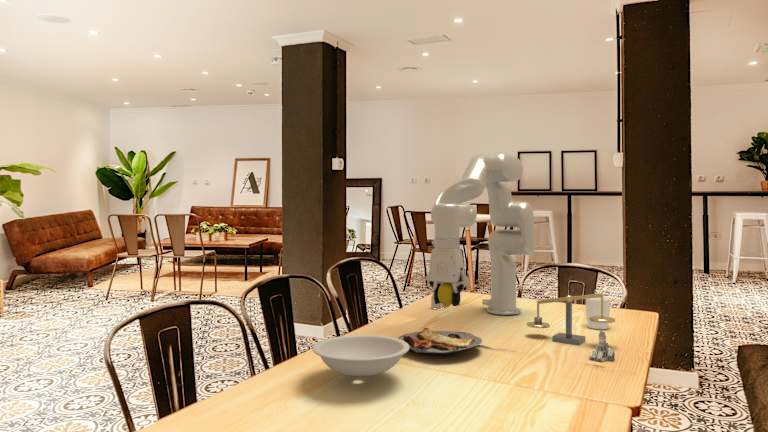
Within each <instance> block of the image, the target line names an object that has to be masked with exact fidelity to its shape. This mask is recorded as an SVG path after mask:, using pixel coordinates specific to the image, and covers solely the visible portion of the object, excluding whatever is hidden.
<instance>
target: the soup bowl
mask: <svg viewBox="0 0 768 432" xmlns="http://www.w3.org/2000/svg"><path fill="white" fill-rule="evenodd" d="M409 350H410V347H409V344H408V343H406V342H405V341H403V340H400V339H398V338H397V337H392V336H387V335H377V334H352V335H351V334H350V335H341V336H335V337H329V338H325V339H322V340H320V341H318V342H317V343H315V344H314V345H313V346H312V351H313V353H314V354H315V355H317V356H319V357H320V359H321V360H322V362H323V363H324V364H325V365H326V366H327V367H328V368H330V369H331V370H332V371H334V372H336V373H338V374H341V375H345V376H350V377H371V376H376V375H379V374H382V373H385V372H387V371H389V370H391V369H392V368H394V367H395V366H396V365H397V364H398V362H399V361H400V360H401V358H402V357H403V355H405V354H407V353H408V352H409Z"/></svg>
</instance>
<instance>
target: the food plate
mask: <svg viewBox="0 0 768 432" xmlns="http://www.w3.org/2000/svg"><path fill="white" fill-rule="evenodd" d="M397 339H400V340H403V341H405V342H406V343H408V344H409V347H410V348H409V350H412V351H414V352H415V353H424V354H429V353H431V354H451V353H457V352H460V351H464V350H467V349H472V348H474V347H478V346H479V345H482V344H483V342H484V341H483V338H481V337H479V336H478V335H476V334H473V333H469V332H464V331H462V332H461V331H451V330H431V329H430V328H429V327H424V328H423V329H422V330H421V331H416V332H411V333H407V334H403V335H400V336H398V338H397Z"/></svg>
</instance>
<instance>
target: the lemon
mask: <svg viewBox="0 0 768 432" xmlns="http://www.w3.org/2000/svg"><path fill="white" fill-rule="evenodd" d="M452 293H454V289H453V286H452V283H442V284H441V285H440V287H439V289H438V299H439V301H440V303H441V304H443V305H444V306H445V307H447V308H449V307H450V306H453V305H452Z"/></svg>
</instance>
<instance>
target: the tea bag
mask: <svg viewBox="0 0 768 432" xmlns="http://www.w3.org/2000/svg"><path fill="white" fill-rule="evenodd" d="M430 301H431V303H430V304H431V305H430V306H431V308H436V309H441V308H443V307H445V306H444V305H443V304H441V303H439V304H435V300H434V292H433V293H432V295H431V300H430ZM431 308H430V309H431ZM441 310H442V309H441Z"/></svg>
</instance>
